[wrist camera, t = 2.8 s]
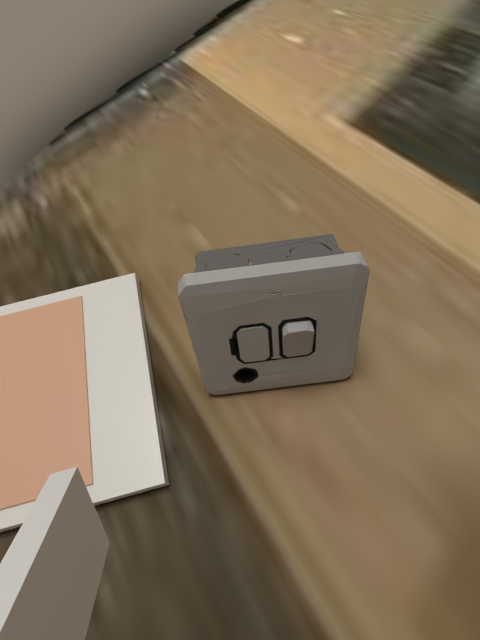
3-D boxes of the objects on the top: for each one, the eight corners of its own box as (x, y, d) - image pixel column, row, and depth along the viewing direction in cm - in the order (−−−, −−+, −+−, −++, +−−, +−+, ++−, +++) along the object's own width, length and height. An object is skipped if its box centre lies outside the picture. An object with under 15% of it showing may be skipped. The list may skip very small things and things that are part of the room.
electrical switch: (206, 398, 25) (173, 317, 17) (203, 331, 28) (174, 236, 20) (352, 381, 24) (385, 291, 17) (333, 315, 27) (354, 213, 20)
